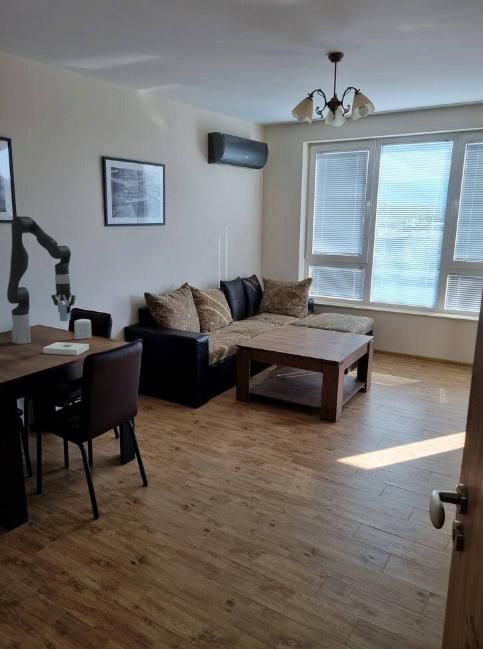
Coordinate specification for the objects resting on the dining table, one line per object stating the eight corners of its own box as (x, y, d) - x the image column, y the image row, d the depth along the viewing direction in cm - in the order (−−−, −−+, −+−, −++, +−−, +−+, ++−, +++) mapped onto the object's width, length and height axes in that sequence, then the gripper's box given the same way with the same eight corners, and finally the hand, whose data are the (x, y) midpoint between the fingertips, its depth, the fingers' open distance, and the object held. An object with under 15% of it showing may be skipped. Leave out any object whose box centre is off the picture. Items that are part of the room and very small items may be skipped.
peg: (60, 320, 266) (59, 304, 264) (63, 319, 270) (62, 303, 268) (66, 321, 265) (65, 305, 263) (70, 319, 269) (69, 304, 267)
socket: (43, 353, 265) (43, 347, 264) (56, 347, 278) (56, 342, 278) (76, 355, 262) (76, 349, 261) (89, 349, 275) (88, 344, 275)
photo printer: (90, 336, 306) (89, 317, 303) (92, 338, 302) (91, 319, 300) (74, 338, 300) (72, 319, 297) (75, 340, 296) (74, 320, 294)
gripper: (47, 282, 261) (49, 313, 264) (71, 283, 259) (73, 314, 262) (54, 281, 268) (56, 311, 271) (78, 281, 266) (79, 312, 269)
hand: (64, 312), depth 267 cm, fingers closed on peg, 4 cm apart
